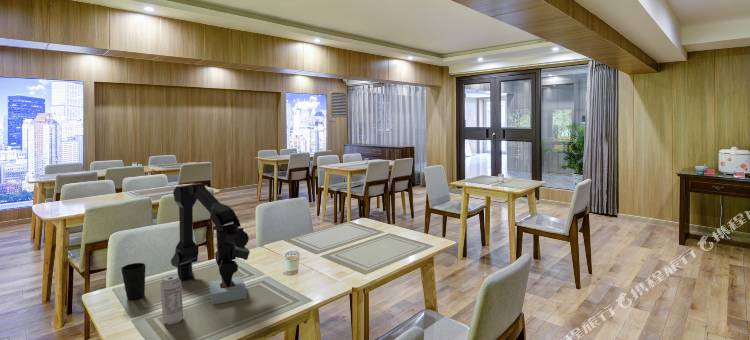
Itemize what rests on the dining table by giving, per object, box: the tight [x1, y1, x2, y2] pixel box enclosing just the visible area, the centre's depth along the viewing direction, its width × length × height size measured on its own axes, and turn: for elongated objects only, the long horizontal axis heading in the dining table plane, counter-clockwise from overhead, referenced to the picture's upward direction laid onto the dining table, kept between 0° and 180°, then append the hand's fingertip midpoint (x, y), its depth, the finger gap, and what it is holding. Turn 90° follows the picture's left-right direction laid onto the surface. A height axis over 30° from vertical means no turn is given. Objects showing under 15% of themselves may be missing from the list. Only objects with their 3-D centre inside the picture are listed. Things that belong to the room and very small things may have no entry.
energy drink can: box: [159, 274, 184, 326], centre depth 132 cm, size 6×6×15 cm
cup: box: [120, 262, 146, 302], centre depth 149 cm, size 8×8×12 cm
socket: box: [208, 276, 248, 306], centre depth 152 cm, size 12×12×4 cm
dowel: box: [221, 278, 232, 288], centre depth 152 cm, size 4×4×8 cm
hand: (227, 282), depth 151 cm, fingers open, 9 cm apart
